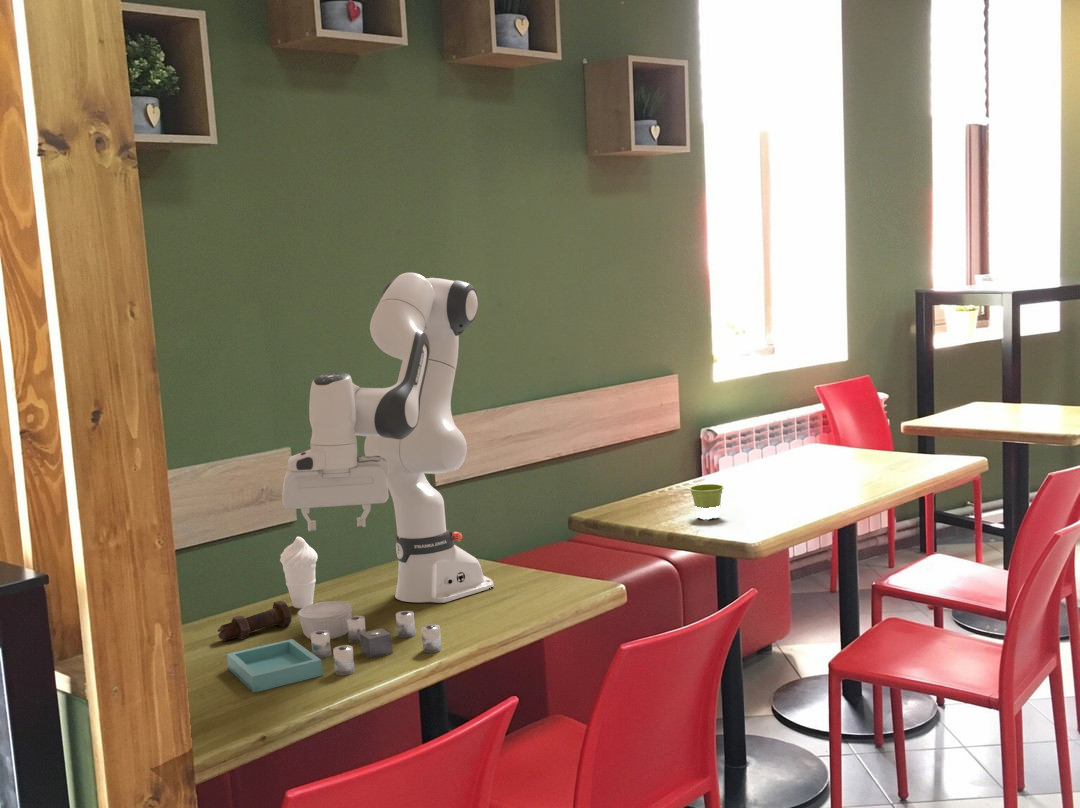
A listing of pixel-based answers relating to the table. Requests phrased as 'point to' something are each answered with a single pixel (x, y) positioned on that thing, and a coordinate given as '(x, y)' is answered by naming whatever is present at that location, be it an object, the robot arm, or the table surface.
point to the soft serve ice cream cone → (300, 572)
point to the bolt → (256, 622)
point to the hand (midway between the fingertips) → (336, 528)
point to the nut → (376, 643)
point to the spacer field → (357, 626)
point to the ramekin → (325, 618)
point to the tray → (274, 665)
